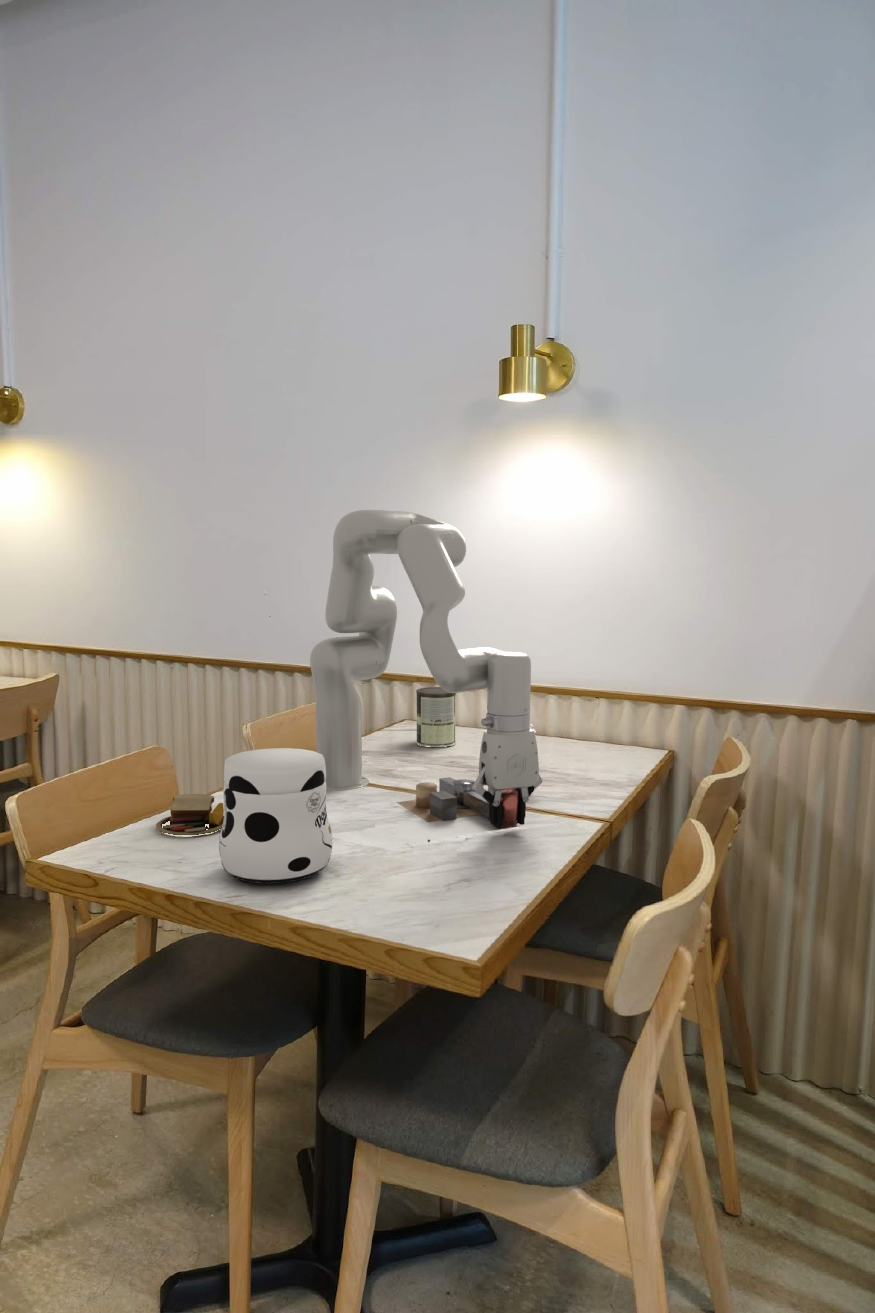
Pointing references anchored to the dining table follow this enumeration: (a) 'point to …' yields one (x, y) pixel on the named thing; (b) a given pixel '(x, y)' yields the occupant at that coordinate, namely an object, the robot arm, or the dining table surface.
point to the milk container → (275, 815)
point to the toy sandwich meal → (192, 815)
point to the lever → (482, 799)
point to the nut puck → (424, 794)
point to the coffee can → (435, 717)
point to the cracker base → (431, 818)
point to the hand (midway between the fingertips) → (507, 823)
